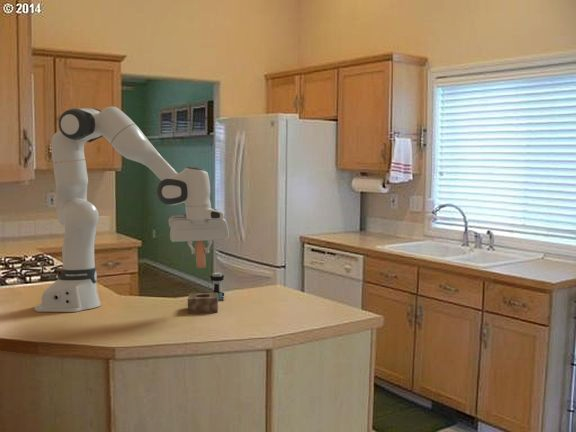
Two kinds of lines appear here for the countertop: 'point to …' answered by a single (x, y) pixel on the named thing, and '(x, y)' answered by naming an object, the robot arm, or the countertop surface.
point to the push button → (218, 284)
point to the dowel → (200, 254)
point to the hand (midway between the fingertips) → (200, 253)
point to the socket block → (203, 303)
